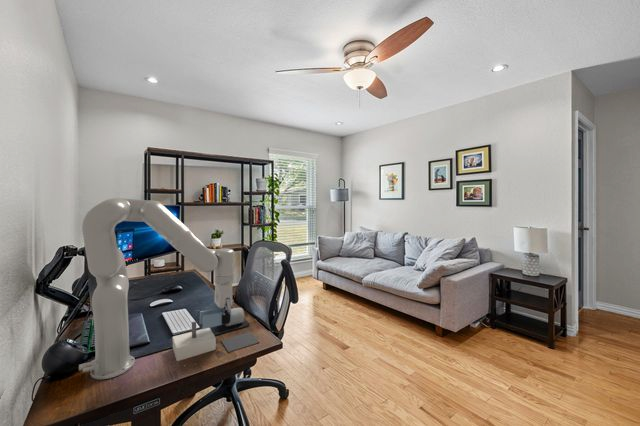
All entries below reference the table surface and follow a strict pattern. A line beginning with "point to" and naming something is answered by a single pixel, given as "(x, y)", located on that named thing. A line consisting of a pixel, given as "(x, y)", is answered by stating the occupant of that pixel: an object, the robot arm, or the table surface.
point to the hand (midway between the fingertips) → (223, 319)
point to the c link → (212, 317)
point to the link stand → (193, 343)
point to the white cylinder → (236, 316)
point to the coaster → (239, 342)
